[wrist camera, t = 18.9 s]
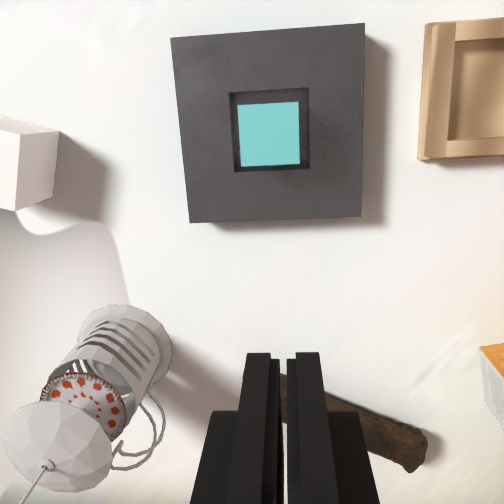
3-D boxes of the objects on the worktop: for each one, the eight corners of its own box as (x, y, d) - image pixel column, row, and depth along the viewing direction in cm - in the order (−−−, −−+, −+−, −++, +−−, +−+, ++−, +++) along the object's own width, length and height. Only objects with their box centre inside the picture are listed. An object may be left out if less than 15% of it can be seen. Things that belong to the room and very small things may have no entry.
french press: (102, 285, 42) (-134, 515, 18) (205, 345, 43) (109, 633, 20) (62, 359, 45) (-186, 638, 21) (159, 413, 46) (28, 733, 23)
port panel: (358, 30, 34) (364, 22, 31) (355, 208, 38) (361, 216, 35) (179, 43, 35) (170, 37, 32) (196, 214, 39) (189, 223, 36)
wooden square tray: (564, 14, 32) (584, 7, 30) (544, 152, 35) (561, 155, 33) (425, 24, 33) (434, 19, 31) (417, 158, 36) (425, 162, 34)
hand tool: (422, 423, 45) (437, 458, 40) (401, 451, 46) (413, 487, 41) (257, 344, 43) (254, 371, 39) (239, 375, 44) (234, 404, 40)
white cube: (60, 130, 38) (20, 134, 32) (53, 196, 40) (15, 211, 34) (-8, 112, 38) (-60, 113, 32) (-11, 179, 40) (-61, 191, 34)
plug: (296, 102, 35) (298, 101, 28) (296, 153, 36) (299, 163, 30) (246, 105, 35) (237, 105, 29) (249, 155, 37) (241, 166, 30)
